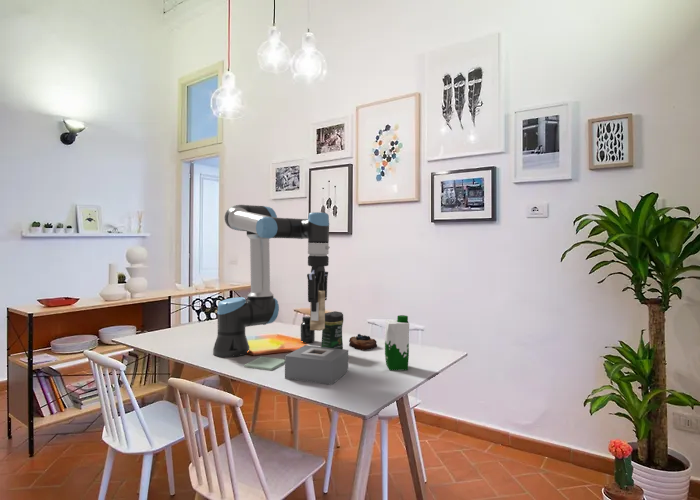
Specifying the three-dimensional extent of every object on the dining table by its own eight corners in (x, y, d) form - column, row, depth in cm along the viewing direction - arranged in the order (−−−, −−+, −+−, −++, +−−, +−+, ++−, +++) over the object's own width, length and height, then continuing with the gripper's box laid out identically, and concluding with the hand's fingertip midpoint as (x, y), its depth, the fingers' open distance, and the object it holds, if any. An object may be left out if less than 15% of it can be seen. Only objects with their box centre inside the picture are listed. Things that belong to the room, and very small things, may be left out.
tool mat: (244, 366, 157) (244, 364, 157) (261, 358, 168) (261, 356, 168) (271, 370, 153) (271, 368, 153) (287, 361, 164) (287, 359, 164)
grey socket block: (284, 378, 144) (284, 354, 144) (305, 365, 159) (305, 344, 159) (331, 384, 138) (331, 360, 137) (348, 371, 153) (348, 348, 153)
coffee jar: (331, 359, 168) (332, 314, 168) (317, 355, 173) (318, 312, 173) (346, 354, 176) (346, 311, 175) (332, 351, 181) (332, 309, 180)
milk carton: (410, 370, 154) (411, 318, 153) (387, 371, 153) (387, 318, 152) (405, 364, 162) (406, 314, 162) (383, 364, 161) (383, 314, 161)
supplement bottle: (316, 340, 199) (317, 316, 199) (311, 344, 193) (311, 318, 193) (304, 339, 202) (304, 315, 201) (298, 342, 195) (298, 317, 195)
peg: (310, 329, 147) (310, 291, 147) (314, 327, 151) (315, 290, 150) (320, 330, 146) (320, 291, 145) (324, 328, 149) (325, 290, 149)
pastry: (365, 343, 197) (365, 330, 197) (380, 348, 187) (380, 335, 187) (346, 346, 191) (346, 333, 191) (360, 351, 181) (360, 338, 181)
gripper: (317, 256, 138) (317, 324, 139) (336, 254, 154) (335, 316, 155) (298, 255, 141) (297, 322, 141) (318, 254, 157) (317, 314, 157)
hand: (317, 319), depth 148 cm, fingers closed on peg, 4 cm apart
